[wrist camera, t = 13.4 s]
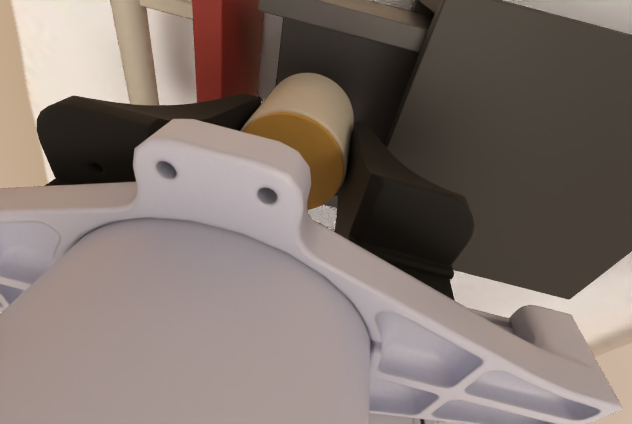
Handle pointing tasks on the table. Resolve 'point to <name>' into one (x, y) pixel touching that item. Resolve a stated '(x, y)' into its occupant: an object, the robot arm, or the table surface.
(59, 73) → the table surface
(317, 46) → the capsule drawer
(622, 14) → the table surface
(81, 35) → the table surface
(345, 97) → the beige cylinder
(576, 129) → the black drawer box
